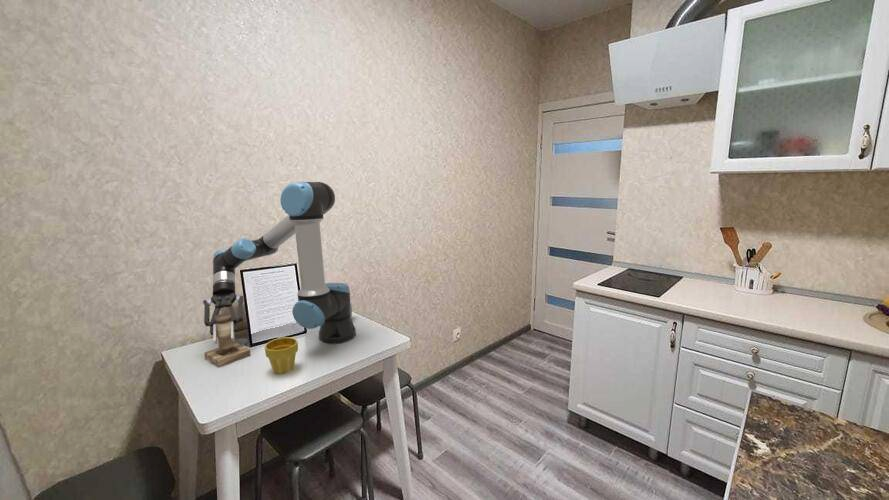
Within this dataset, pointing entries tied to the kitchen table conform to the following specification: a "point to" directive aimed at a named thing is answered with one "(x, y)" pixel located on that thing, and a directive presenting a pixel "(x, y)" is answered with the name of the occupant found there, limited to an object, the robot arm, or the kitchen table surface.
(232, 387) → the kitchen table surface
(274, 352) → the plant pot
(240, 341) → the coaster
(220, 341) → the mill
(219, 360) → the pocket block
